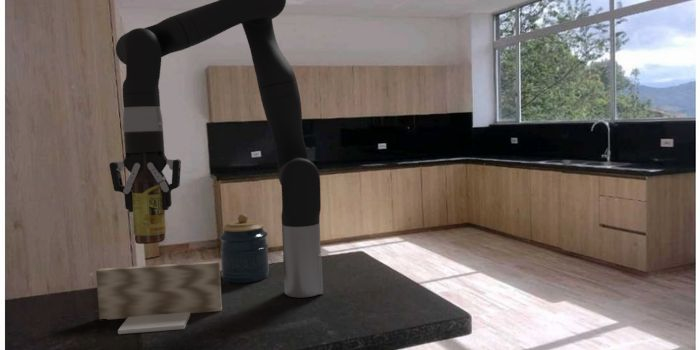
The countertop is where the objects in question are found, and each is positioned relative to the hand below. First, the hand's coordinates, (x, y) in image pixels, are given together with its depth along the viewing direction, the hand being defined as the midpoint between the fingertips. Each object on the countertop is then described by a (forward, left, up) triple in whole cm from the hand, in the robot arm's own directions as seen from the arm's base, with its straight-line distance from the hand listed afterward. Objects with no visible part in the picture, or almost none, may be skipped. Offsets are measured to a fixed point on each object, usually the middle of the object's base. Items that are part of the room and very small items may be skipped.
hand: (148, 210), depth 111 cm
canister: (-17, -33, -25) cm, 44 cm away
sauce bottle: (0, 0, -7) cm, 7 cm away
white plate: (0, 0, -24) cm, 24 cm away
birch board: (0, -6, -24) cm, 25 cm away
